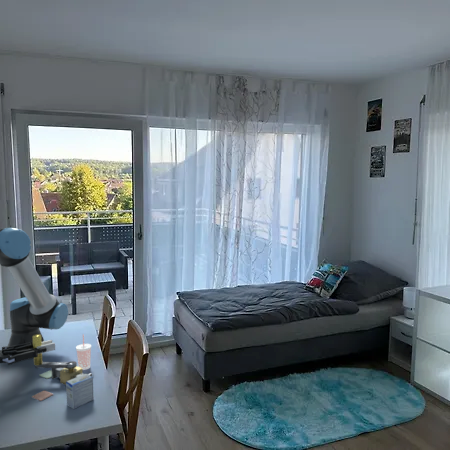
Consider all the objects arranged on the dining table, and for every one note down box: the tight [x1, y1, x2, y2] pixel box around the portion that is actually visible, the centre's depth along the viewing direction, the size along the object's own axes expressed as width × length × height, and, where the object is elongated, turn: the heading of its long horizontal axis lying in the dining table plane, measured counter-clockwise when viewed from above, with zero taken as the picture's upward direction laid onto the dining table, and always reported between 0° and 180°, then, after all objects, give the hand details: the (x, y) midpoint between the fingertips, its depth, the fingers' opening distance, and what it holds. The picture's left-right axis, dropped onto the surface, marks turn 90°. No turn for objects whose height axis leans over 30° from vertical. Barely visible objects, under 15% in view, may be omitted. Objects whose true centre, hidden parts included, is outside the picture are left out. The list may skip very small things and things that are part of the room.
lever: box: [33, 334, 78, 369], centre depth 159 cm, size 16×4×12 cm, turn 90°
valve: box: [50, 365, 93, 386], centre depth 160 cm, size 18×6×6 cm, turn 58°
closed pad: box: [31, 389, 54, 402], centre depth 149 cm, size 5×5×1 cm
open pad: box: [38, 369, 52, 380], centre depth 166 cm, size 5×5×1 cm
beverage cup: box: [75, 334, 92, 371], centre depth 172 cm, size 6×6×14 cm
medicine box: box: [65, 373, 95, 410], centre depth 144 cm, size 8×4×9 cm, turn 141°
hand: (53, 344), depth 162 cm, fingers closed on lever, 3 cm apart
